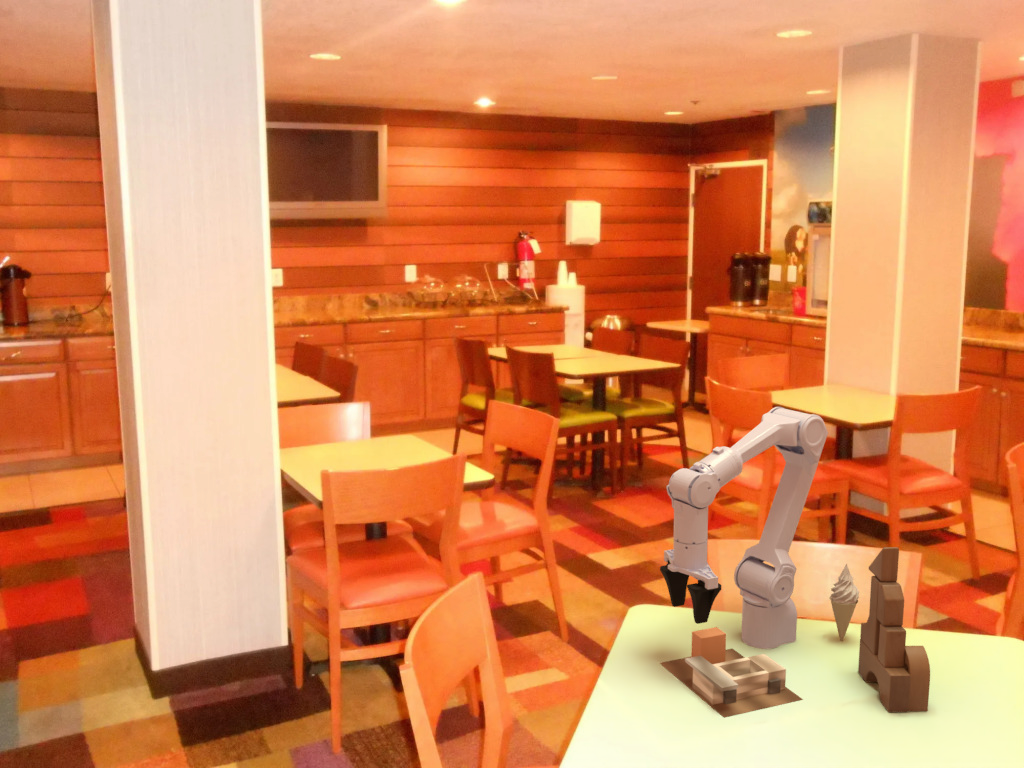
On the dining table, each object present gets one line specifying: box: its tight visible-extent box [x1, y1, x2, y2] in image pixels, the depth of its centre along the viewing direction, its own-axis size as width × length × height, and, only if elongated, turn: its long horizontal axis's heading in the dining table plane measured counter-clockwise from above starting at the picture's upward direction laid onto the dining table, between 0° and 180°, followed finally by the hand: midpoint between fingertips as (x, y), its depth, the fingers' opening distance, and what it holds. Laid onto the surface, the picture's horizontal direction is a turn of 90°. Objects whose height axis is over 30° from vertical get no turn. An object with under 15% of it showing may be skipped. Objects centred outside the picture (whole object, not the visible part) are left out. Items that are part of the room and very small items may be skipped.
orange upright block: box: [690, 626, 727, 664], centre depth 167 cm, size 5×3×6 cm, turn 111°
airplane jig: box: [659, 648, 804, 718], centre depth 160 cm, size 15×20×5 cm
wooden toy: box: [857, 546, 931, 713], centre depth 157 cm, size 16×7×25 cm, turn 0°
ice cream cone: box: [829, 563, 860, 642], centre depth 176 cm, size 5×5×15 cm
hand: (689, 613), depth 165 cm, fingers open, 7 cm apart
